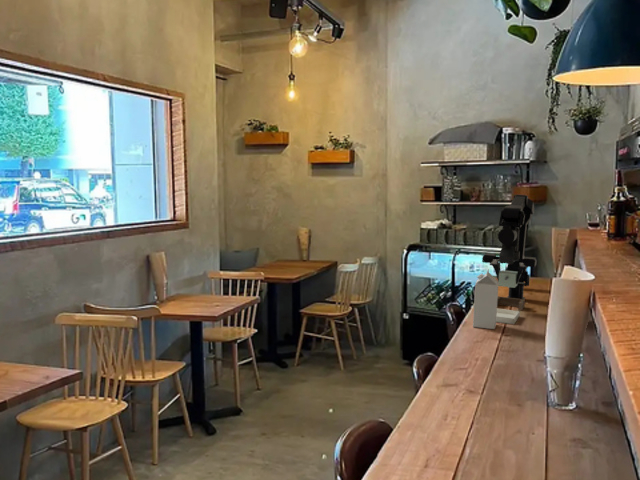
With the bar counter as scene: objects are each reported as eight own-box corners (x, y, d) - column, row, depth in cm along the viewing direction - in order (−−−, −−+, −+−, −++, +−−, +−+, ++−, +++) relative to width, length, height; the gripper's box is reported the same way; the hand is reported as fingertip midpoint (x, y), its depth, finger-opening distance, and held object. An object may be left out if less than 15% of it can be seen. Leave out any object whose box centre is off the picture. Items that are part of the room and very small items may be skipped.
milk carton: (495, 324, 208) (499, 269, 206) (494, 329, 202) (498, 273, 199) (474, 322, 211) (477, 268, 208) (472, 327, 204) (476, 271, 201)
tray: (486, 312, 225) (487, 307, 224) (519, 316, 220) (519, 311, 219) (479, 319, 214) (480, 314, 214) (513, 324, 209) (514, 318, 209)
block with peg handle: (501, 283, 231) (501, 270, 231) (517, 284, 229) (518, 271, 228) (496, 287, 224) (497, 273, 223) (513, 288, 221) (514, 275, 220)
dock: (496, 303, 239) (497, 296, 239) (524, 307, 234) (524, 299, 234) (493, 307, 233) (493, 299, 233) (521, 310, 228) (522, 303, 228)
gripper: (480, 241, 221) (477, 283, 223) (534, 246, 213) (531, 289, 215) (486, 238, 231) (484, 278, 233) (538, 242, 223) (535, 284, 225)
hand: (507, 282), depth 227 cm, fingers closed on block with peg handle, 6 cm apart
